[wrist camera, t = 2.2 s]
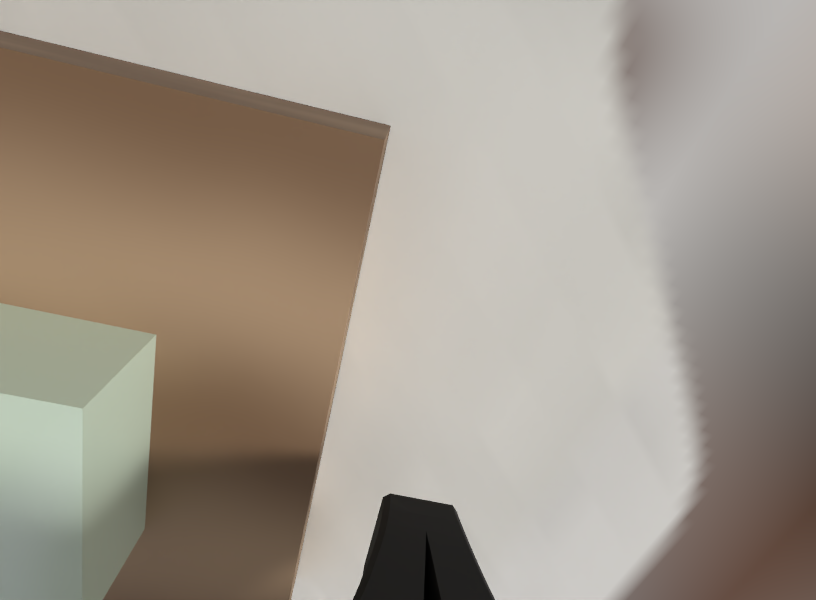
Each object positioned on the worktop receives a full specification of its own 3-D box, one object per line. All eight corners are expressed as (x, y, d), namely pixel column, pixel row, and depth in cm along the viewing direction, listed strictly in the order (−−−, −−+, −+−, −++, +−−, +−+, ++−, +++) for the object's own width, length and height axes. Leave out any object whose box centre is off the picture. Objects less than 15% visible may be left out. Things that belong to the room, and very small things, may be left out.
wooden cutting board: (295, 580, 17) (272, 679, 14) (-180, 500, 16) (-307, 591, 13) (390, 125, 12) (384, 140, 9) (-307, -44, 10) (-565, -89, 8)
